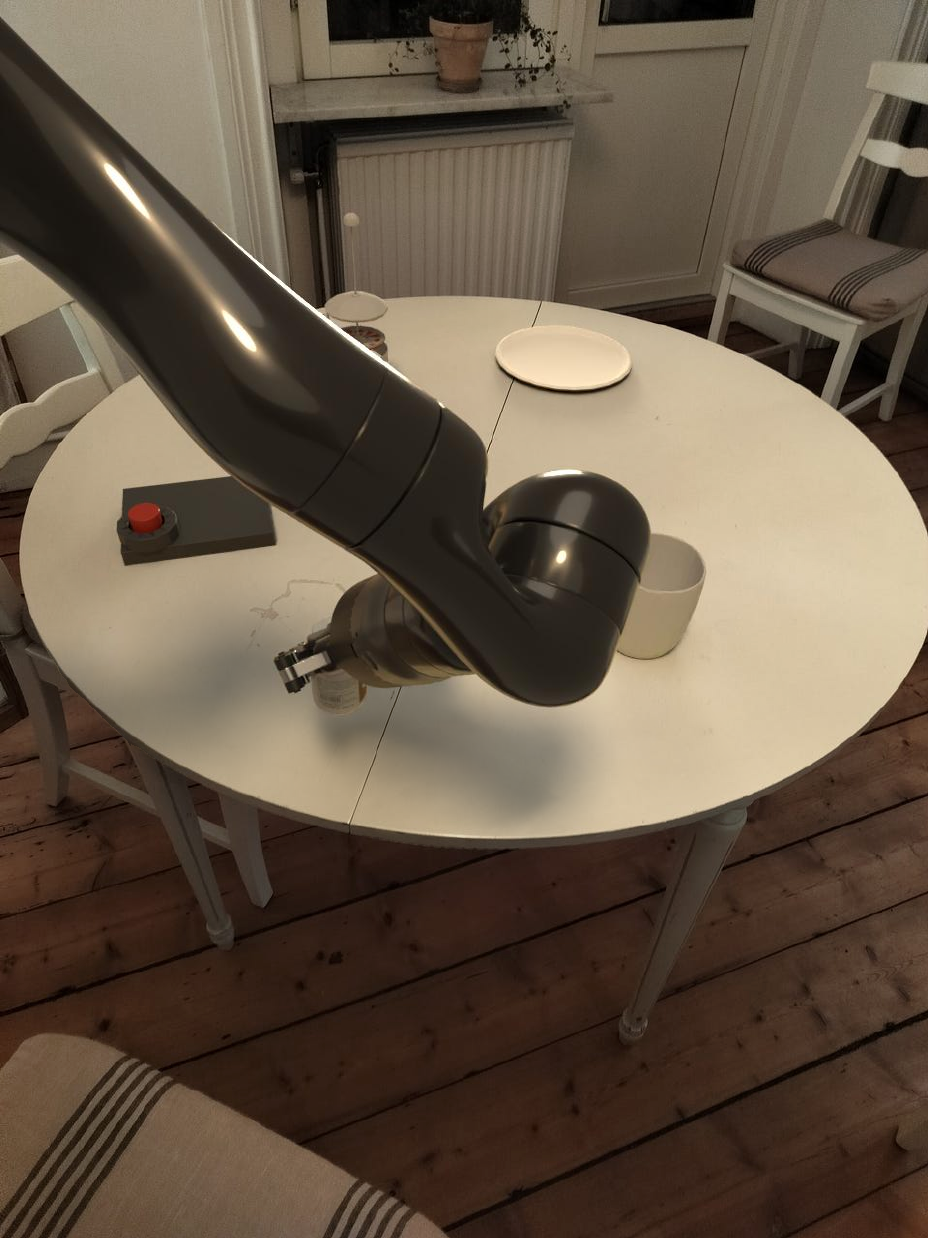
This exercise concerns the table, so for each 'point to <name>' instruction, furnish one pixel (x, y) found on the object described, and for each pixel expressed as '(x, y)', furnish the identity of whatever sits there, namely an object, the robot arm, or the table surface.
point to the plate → (563, 358)
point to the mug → (664, 598)
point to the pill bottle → (336, 686)
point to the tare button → (145, 518)
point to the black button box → (195, 520)
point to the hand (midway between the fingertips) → (324, 648)
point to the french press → (359, 309)
